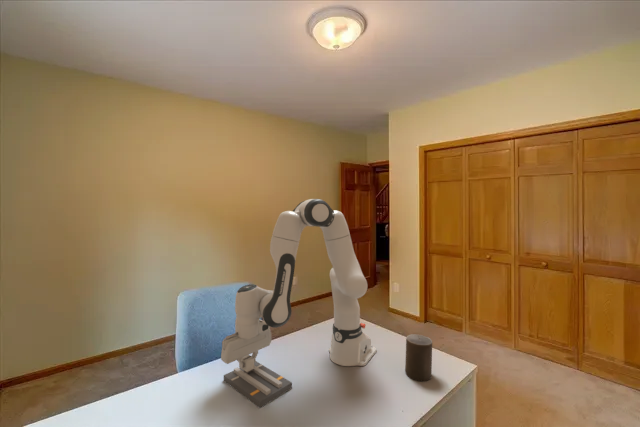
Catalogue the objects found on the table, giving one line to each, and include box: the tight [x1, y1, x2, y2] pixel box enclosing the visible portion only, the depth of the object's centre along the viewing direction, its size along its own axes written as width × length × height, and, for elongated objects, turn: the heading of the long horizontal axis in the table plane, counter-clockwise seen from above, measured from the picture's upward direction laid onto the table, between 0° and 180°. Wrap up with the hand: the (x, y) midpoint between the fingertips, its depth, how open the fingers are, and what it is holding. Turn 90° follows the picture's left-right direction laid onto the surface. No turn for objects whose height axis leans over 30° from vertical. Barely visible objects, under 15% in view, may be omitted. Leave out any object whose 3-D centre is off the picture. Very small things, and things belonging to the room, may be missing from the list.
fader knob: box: [241, 354, 254, 374], centre depth 111 cm, size 3×4×5 cm
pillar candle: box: [404, 333, 433, 382], centre depth 114 cm, size 10×10×15 cm
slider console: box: [223, 361, 293, 409], centre depth 107 cm, size 14×22×3 cm, turn 48°
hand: (247, 364), depth 111 cm, fingers closed on fader knob, 3 cm apart
